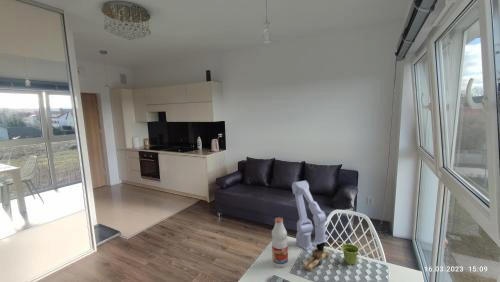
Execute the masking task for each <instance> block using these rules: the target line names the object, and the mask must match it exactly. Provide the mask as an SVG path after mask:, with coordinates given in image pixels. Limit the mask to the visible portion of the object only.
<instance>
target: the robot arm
mask: <svg viewBox="0 0 500 282" xmlns="http://www.w3.org/2000/svg"><path fill="white" fill-rule="evenodd" d="M291 189H292V193H293V195H294V196H295V197H294V198H295V202H296V207H297V212H298V217H299V219H298V221H297V222H296V231H297V232H296V235H295V242H296V243H295V246H297V247H299V248H301V249H304V250H307V251H308V250H310V249H311V248H316V249H318V250H320V251H322V253H323V250H325V247H326V245H327V239H328V238H329V235H328V234H326V222H327V220H328V216H327V214H326V212H324V211H323V210H322V209H321V207H320V205H319V204H318V202H317V201H315V200H314V198H313V195H312V193H311V192H310V184H309V182H308V181H307V180H300V181H294V182H292V184H291ZM304 198H305V200H306V201H307V203H308V208H309V211H310V212H311V214H312V220H313V223H312V220H310V219H309V218H308V215H307V210H306V204H305V201H304ZM313 224H314V225H313ZM313 232H314V233H315V235H314V236H315V237H314V240H313V242H312V237H311V236H312V234H313Z"/></svg>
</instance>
